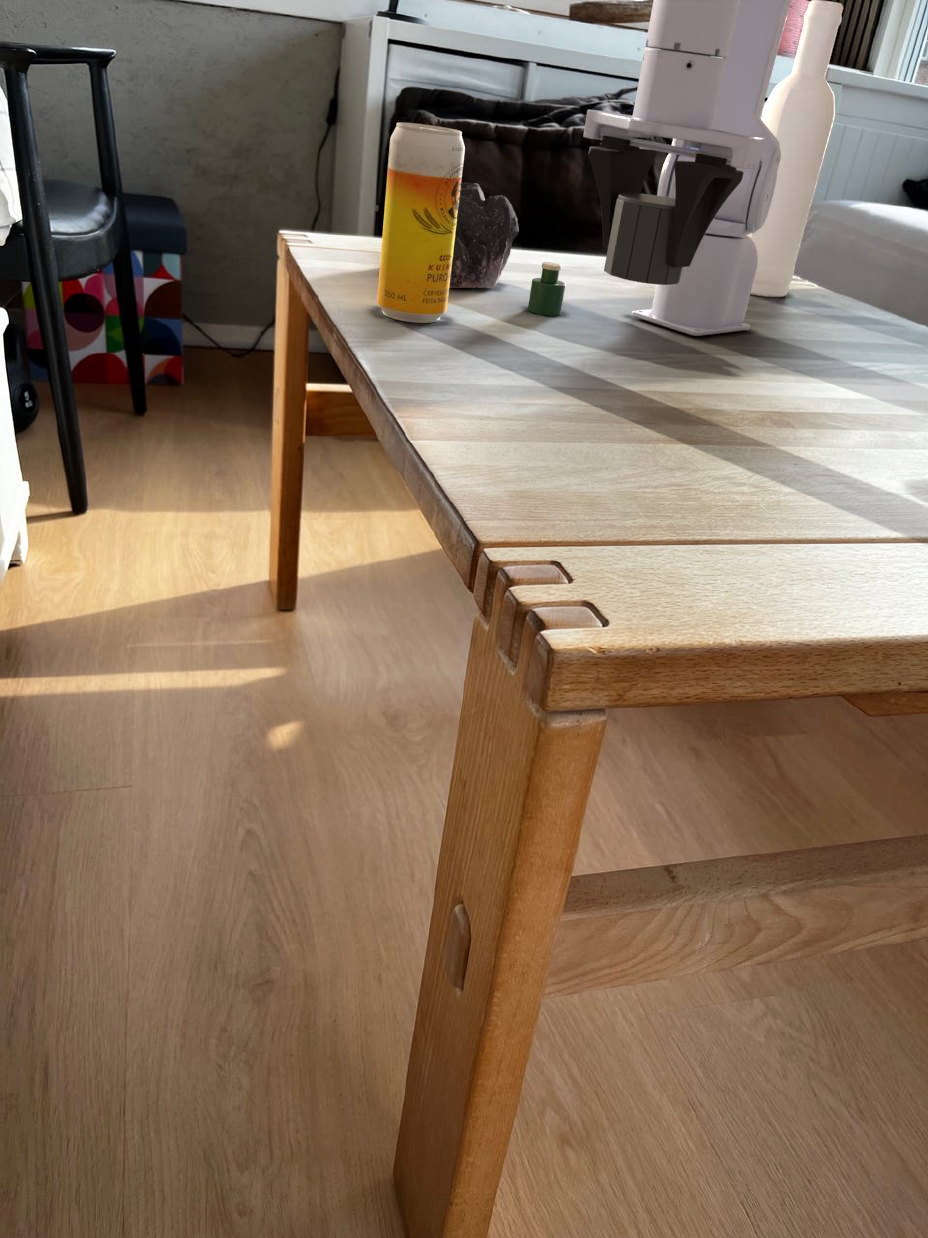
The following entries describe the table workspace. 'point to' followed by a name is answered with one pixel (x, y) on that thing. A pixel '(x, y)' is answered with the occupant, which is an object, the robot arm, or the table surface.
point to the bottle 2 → (797, 148)
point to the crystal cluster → (481, 238)
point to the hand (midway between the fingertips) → (645, 256)
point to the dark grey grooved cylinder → (642, 239)
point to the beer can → (420, 221)
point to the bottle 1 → (547, 291)
